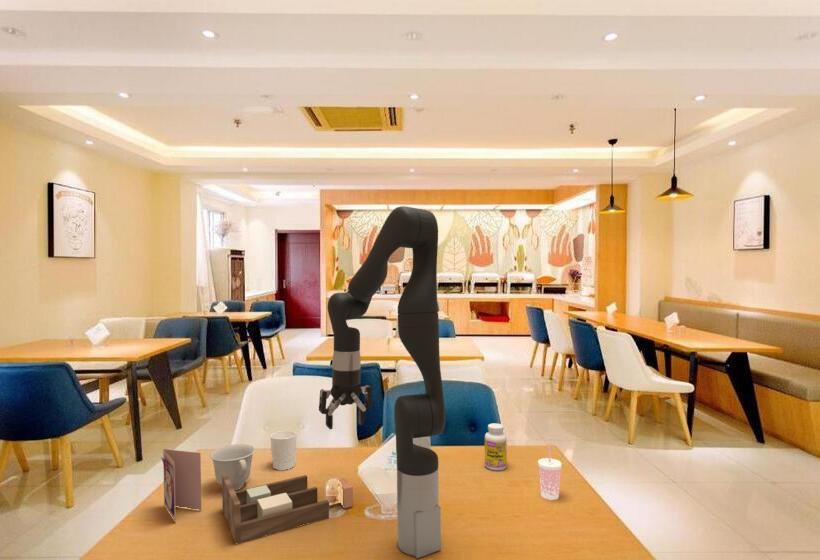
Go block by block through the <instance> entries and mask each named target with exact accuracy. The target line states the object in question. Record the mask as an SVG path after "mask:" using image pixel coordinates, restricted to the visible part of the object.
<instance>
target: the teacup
mask: <svg viewBox="0 0 820 560" xmlns="http://www.w3.org/2000/svg"><path fill="white" fill-rule="evenodd" d="M255 451H256V448H255V447H254V446H253V445H250V444H244V443H243V444H242V443H240V444H239V443H238V444H237V443H236V444H229V445H225V446H221V447H219V448H216V449H215V450H213V451H212V452H211V453H210V454H209V458H210V459H211V460H212V464H213V469H214V475H215V479H216V482H217V483H218V484H219V485H221V486H222V475H224V474H227V475H228V477H229V480H230V482H231V484H232V486H233V488H234V490H235V491H237V490H236V489H238V490H240V489H239V488H241V487H242V488H244V486H245V482H246V481H247V480H248V479H249V477H250V474H251V471H252V459H253V454H254V453H255ZM243 485H244V486H243ZM242 488H241V489H242Z"/></svg>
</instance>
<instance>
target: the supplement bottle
mask: <svg viewBox="0 0 820 560" xmlns="http://www.w3.org/2000/svg"><path fill="white" fill-rule="evenodd" d="M487 430H488V432H487V431H486V433H485V435H484V466H485V467H486V468H487V469H488V470H491V471H497V472H498V471H503V470H505V469H506V468H507V464H508V463H507V462H508V461H507V455H508V454H507V453H508V451H507V445H508V443H507V439H508V438H507V435H506V434H505V433H504V425H503V424H502V423H498V422H497V423H489V424H488V425H487Z"/></svg>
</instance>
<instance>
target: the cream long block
mask: <svg viewBox="0 0 820 560" xmlns="http://www.w3.org/2000/svg"><path fill="white" fill-rule="evenodd" d="M337 480H339V481H340V482H341V484H342V489H343V506H344V507H343V506H342V507H343V509H348V508H351V507H353V506H354V487H353V485H352V484H350V482H349V481H347V479H346V478H345V477H342V478H339V479H337ZM291 509H292V501H291V499H290V498H289V496H288V495H287V494H286V493H282V494H278V495H274V496H270V497H266V498H262V499H258V500H257V512H258V518H261V517H264V516H268V515H272V514H276V513H279V512H283V511H287V510H291Z"/></svg>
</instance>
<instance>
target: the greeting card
mask: <svg viewBox="0 0 820 560" xmlns="http://www.w3.org/2000/svg"><path fill="white" fill-rule="evenodd" d="M162 450H163V451H162V453H163V454H162V455H163V456H160V459H161V461H162V464H163V499H164V500H163V504H164V505H165V506H166V508H167V509H168V511H169V512H170V514H171V515H172V517H173V518H174V520H175V522H176V523H177V521H176V520H177V517H176V509H177V508H176V507H175V506H179V507H187V508H191V509H199V510H201V511H202V467H201V465H202V463H201V462H202V461H201V460H202V459H201V452H195V451H193V452H192V451H186V450H185V451H183V450H175V449H167V448H163V449H162ZM164 505H163V506H164ZM166 508H165V509H166ZM168 511H167V512H168ZM170 514H169V515H170ZM172 517H171V518H172ZM174 520H173V521H174ZM175 522H174V523H175Z"/></svg>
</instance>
